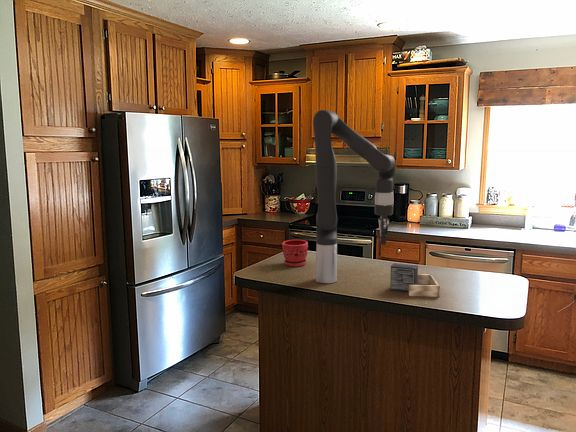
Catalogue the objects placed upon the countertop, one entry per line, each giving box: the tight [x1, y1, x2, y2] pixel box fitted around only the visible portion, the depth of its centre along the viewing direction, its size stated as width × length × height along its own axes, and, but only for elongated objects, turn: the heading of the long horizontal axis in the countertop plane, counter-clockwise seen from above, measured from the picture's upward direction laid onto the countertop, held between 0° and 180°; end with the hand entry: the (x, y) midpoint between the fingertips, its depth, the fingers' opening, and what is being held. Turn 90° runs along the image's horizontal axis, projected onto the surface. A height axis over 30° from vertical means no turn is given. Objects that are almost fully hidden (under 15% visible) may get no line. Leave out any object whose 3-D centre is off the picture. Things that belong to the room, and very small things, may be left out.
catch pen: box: [408, 273, 441, 298], centre depth 196 cm, size 12×17×4 cm
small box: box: [389, 262, 419, 293], centre depth 196 cm, size 11×6×10 cm, turn 65°
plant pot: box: [281, 239, 309, 267], centre depth 239 cm, size 13×13×12 cm
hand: (383, 244), depth 195 cm, fingers closed
